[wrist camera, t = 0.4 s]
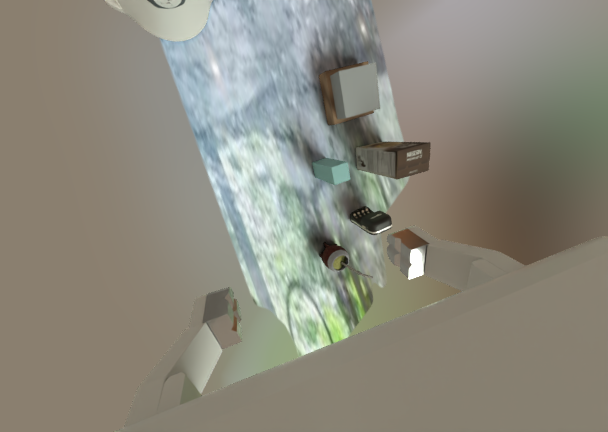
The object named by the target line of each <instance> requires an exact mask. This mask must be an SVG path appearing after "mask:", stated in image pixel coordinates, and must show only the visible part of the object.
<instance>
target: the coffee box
mask: <svg viewBox="0 0 608 432" xmlns="http://www.w3.org/2000/svg"><path fill="white" fill-rule="evenodd" d="M429 159H430V143H421V142H379V143H374V144H370V145H365V146H361V147H356V160H357V169H358V170H362V171H366V172H370V173H374V174H378V175H382V176H386V177H390V178H394V179H400V178H404V177H407V176H411V175H414V174H418V173H421V172H425V171H428V170H429Z"/></svg>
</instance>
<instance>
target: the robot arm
mask: <svg viewBox="0 0 608 432" xmlns="http://www.w3.org/2000/svg"><path fill="white" fill-rule="evenodd" d="M104 1H105V2H106V4H107V5H109V6H110V7H112V8H114V9H116V10H118V11H120V12H122V13H125V14H127V15H128V16H129V17H131V18H132V19H133V20H134V21H135V22H136V23H138V24H139V25H140V26H141V27H142V28H143V29H145V30H146V31H148V32H149V33H151V34H153V35H155V36H157V37H159V38H162V39H165V40H169V41H185V40H189V39H191V38H193V37H195V36H196V35H198V34H199V33H200V32H201V31H202V29H203V28H204V26H205V24H206V22H207V20H208V16H209V11H210V6H211V3H212V1H213V0H104ZM387 242H388V243H389V246H388V247H387V254H388V257H389V259H390V260H391V262H392V263H393V264H394V265H396V266H399V267H400V271H401V272H402V273H403V274H404V275H405V276H406V277H407V278H408V279H411V278H414V277H417V276H420V275H423V274H424V275H426V276H428V277H430V278H433V279H435V280H438V281H440V282H442V283H445V284H447V285H449V286H452V287H454V288H456V289H459V290H461V291H463V292H460V293H458V294H455V295H453V296H450V297H448V298H445V299H443V300H440V301H438V302H435V303H433V304H430V305H428V306H425V307H423V308H421V309H418V310H415V311H413V312H410V313H408V314H406V315H403V316H400V317H398V318H395V319H393V320H390V321H388V322H385V323H383V324H381V325H378V326H376V327H373V328H371V329H368V330H366V331H363V332H361V333H358V334H356V335H353V336H351V337H348V338H346V339H343V340H341V341H338V342H336V343H333V344H331V345H328V346H326V347H323V348H321V349H318V350H316V351H313V352H311V353H308V354H306V355H303V356H301V357H298V358H296V359H293V360H291V361H289V362H286V363H284V364H281V365H278V366H276V367H274V368H271V369H268V370H266V371H263V372H261V373H259V374H256V375H253V376H251V377H249V378H246V379H243V380H241V381H239V382H236V383H233V384H231V385H229V386H226V387H224V388H221V389H219V390H216V391H214V392H211V393H209V394H206V395H204V396H202V395H201V393H202V391H203V389H204V387H205V385H206V383H207V381H208V379H209V377H210V375H211V373H212V371H213V369H214V367H215V365H216V363H217V361H218V359H219V357H220V355H221V353H222V349H224V348H227V347H229V346H232V345H234V344H237V343H239V342H242V332H241V331H242V328H241V326H240V324H239V323H240V321H241V312H240V307H239V304H238V301H237V300H236V299H234V293H233V291H232V289H231V287H228V288H224V289H221V290H218V291H215V292H211V293H208V294H206V295H202V296H199V297H197V298H196V299H195V301H194V305H193V310H192V314H191V319H190V324H189V328H188V329H185V330H184V331H183V333H182V334H181V335H180V336H179V338H178V339H177V340H176V341H175V343H174V344H173V345H172V346H171V347H170V349H169V350H168V351H167V352H166V353H165V355H164V356H163V357H162V358H161V360H160V361H159V362H158V363H157V365H156V366H155V367H154V368H153V369H152V371H151V372H150V373H149V374H148V376H147V377H146V378H145V379H144V380H143V382H142V383H141V384H140V386H139V387H138V388H137V391H136V394H135V397H134V400H133V403H132V405H131V408H130V411H129V414H128V417H127V420H126V422H125V425H124V428H121V429H119V430H117V431H114V432H608V236H605V237H598V238H595V239H592V240H589V241H587V242H584V243H582V244H580V245H577V246H575V247H572V248H570V249H567V250H565V251H563V252H560V253H558V254H555V255H552V256H550V257H547V258H545V259H542V260H540V261H538V262H535V263H533V264H530V265H528V266H525V265H523V264H521V263H519V262H517V261H515V260H514V259H512V258H510V257H508V256H506V255H504V254H503V253H500V252H499V251H494V250H489V249H485V248H480V247H475V246H470V245H465V244H460V243H455V242H450V241H446V240H438V239H436V238H435V237H433V236H431V235H430V234H428V233H427V232H425V231H424V230H422V229H420V228H419V227H417V226H411V227H409V228H406V229H403V230H401V231H398V232H394V233H392V234H389V235H388V236H387Z"/></svg>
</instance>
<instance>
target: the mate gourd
mask: <svg viewBox="0 0 608 432" xmlns="http://www.w3.org/2000/svg"><path fill="white" fill-rule="evenodd" d="M323 244H324V246H325V248H326V249H325V250H324V252H322V253H321V254H319V256H320V257H321V258H322V261H323V262H324V264H325V265H326V267H328V268H329V269H331V270H332V271H337V272H338V271H342V270H344V269H345V268H346V267H348V268H349V269H351V270H353V271H354V272H356V273H357V274H358V275H362V276H364V277H368V278H373V277H372V276H368V275H365V274H362V273H361V272H359V271H356V270H355V269H353V268H351V267H350V266H348V263H349V255H348V253H347V252H346V250H345V249H344V248H342V247H341V246H338V245H337V244H334V245H330V246H328V245H327V244H326V242H324V243H323Z"/></svg>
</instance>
